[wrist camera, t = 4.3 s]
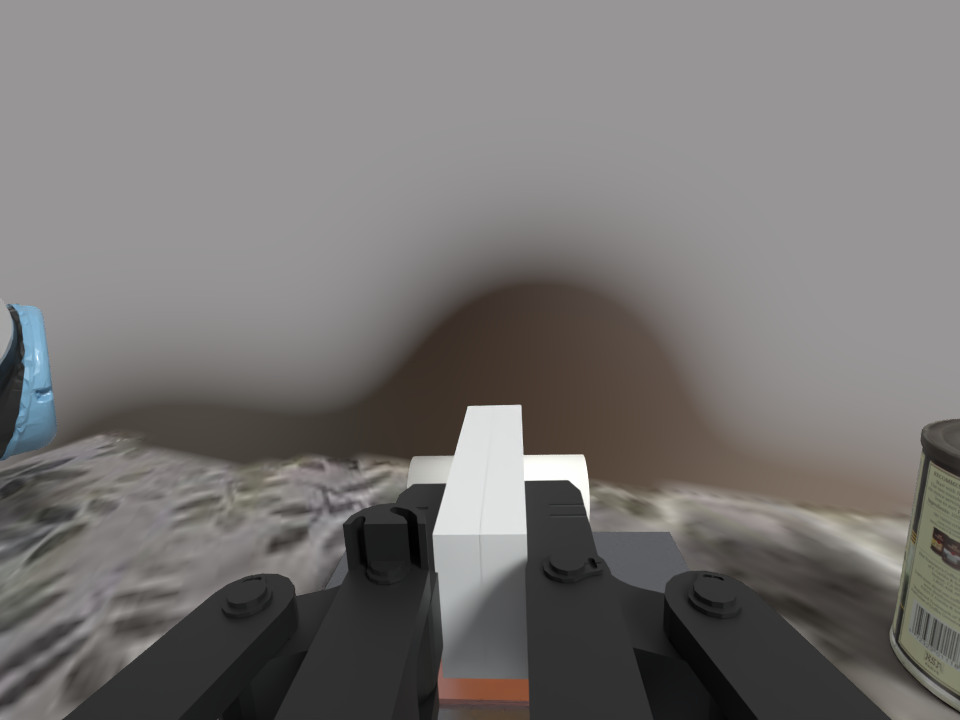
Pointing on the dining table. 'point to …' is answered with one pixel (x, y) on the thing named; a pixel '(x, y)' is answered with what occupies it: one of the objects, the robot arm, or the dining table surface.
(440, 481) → the lever
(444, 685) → the switch panel
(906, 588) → the coffee can
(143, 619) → the dining table surface
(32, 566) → the dining table surface
